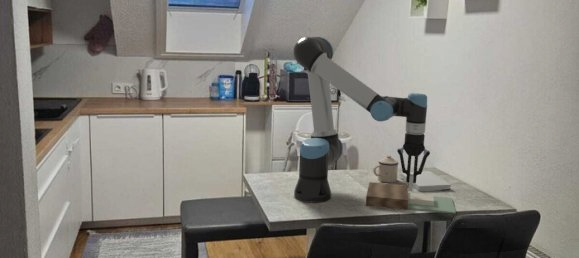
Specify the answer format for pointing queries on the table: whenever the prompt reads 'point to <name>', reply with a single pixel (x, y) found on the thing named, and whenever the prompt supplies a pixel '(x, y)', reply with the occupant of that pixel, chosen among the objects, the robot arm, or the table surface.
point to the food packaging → (427, 182)
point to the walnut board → (387, 195)
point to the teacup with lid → (387, 170)
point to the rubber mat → (436, 206)
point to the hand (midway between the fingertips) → (410, 190)
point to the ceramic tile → (420, 199)
